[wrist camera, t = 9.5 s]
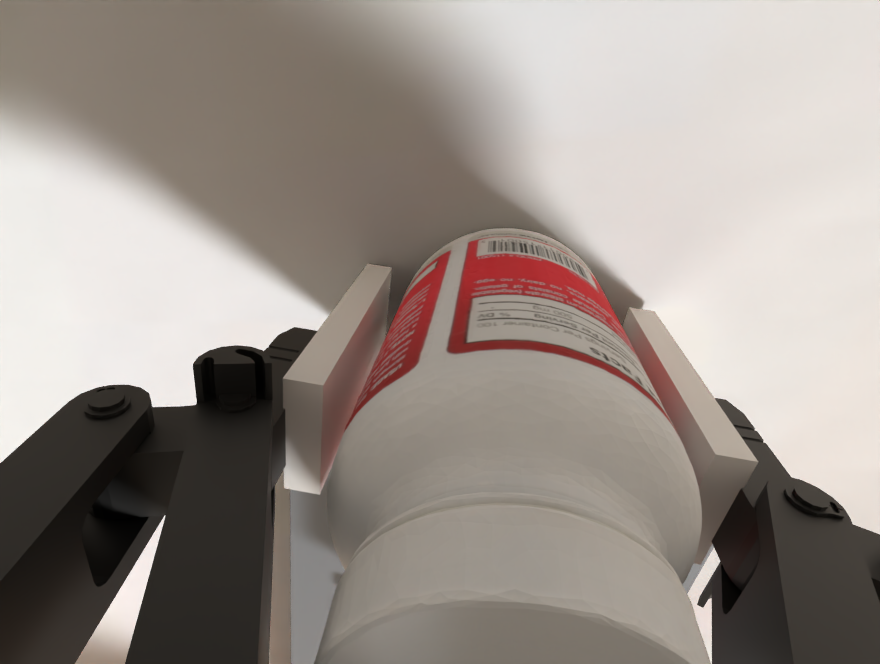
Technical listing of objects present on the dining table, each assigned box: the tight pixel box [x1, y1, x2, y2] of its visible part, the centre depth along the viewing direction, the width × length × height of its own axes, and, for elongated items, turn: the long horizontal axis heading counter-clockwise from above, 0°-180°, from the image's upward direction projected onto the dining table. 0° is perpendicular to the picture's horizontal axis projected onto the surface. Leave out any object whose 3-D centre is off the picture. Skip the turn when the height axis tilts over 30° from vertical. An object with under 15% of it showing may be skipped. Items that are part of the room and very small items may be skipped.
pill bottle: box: [314, 228, 711, 664], centre depth 10 cm, size 6×6×11 cm
